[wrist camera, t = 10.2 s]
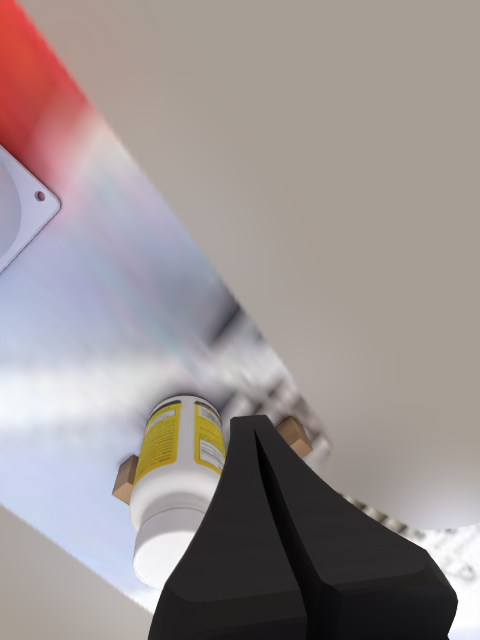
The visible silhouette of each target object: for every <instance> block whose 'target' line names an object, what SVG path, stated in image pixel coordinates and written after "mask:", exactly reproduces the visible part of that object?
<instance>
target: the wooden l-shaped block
mask: <svg viewBox="0 0 480 640" xmlns="http://www.w3.org/2000/svg"><path fill="white" fill-rule="evenodd" d="M276 429H277V430H278V432H279V433H280V434H281V435H282V437H283V438H284V439H285V441H286V442H287V443H288V444H289V445H290V446H291V448H292V449H293V450H294V451H295V452H296V453H297V455H298V456H299V457H300V458H301V459H302V458H303V457H305V456H306V455H307V454H309V453H310V452H311V451H313V449H312V447H311V444H310V442H309V440H308V438H307V435H306V433H305V431H304V429H303V427H302V426H301V425H300V424H299V423H298V422H297V421H296V420H295V419H294V418H293V417H292V416H290V417H288V418H287V419H286V420H285V421H283V422H282V423H281V424H280V425H278V426H277V427H276ZM138 460H139V458H138V457H136V456H135V455H133V456H132V457H130V458H129V459H128V460H127V461H126V462H125V463H123V464H122V465H121V466H120V468H119V471H118V475H117V478H116V482H115V485H114V488H113V492H112V495H113V496H115V497H116V498H118V499H120V500H121V501H123V502H124V503H126V504H128V505H130V498H131V493H132V488H133V483H134V478H135V474H136V469H137V464H138Z"/></svg>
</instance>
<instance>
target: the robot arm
mask: <svg viewBox="0 0 480 640" xmlns="http://www.w3.org/2000/svg"><path fill="white" fill-rule="evenodd" d="M40 191H41V192H43V193H44V195H45V199H44V201H41V200H39V198H38V192H40ZM59 209H60V202H59V200H58V198H57V197H56V196H55V195H54V194H53V193H52V192H51V191H50V190H49V189H47V188H46V187H45V186H44V185H43V184H42V183H41V182H40V181H39V180H38V179H37V178H36V177H35V176H34V175H33V174H31V173H30V172H29V171H28V170H27V169H26V168H25V167H24V166H23V165H22V164H21V163H20V162H19V161H18V160H17V159H15V158H14V157H13V156H12V155H11V154H10V153H9V152H8V151H7V150H6V149H5V148H4V147H3V146H2V145H1V144H0V273H1V272H2V271H3V270H4V269H5V268H6V267H7V266H8V265H9V263H10V262H11V261H12V260H13V259H14V258H15V257H16V256H17V255H18V254H19V253H20V252H21V251H22V249H23V248H24V247H25V246H26V245H27V244H28V243H29V242H30V241H31V240H32V239H33V238H34V237H35V235H36V234H37V233H38V232H39V231H40V230H41V229H42V228H43V227H44V226H45V225H46V224H47V223H48V222H49V220H50V219H51V218H52V217H53V216H54V215H55V214H56V213H57V212H58V211H59ZM457 605H458V599H457V595H456V592H455V591H454V589H453V588H452V586H451V585H450V583H449V581H448V580H447V578H446V577H445V575H444V574H443V572H442V571H441V569H440V568H439V567H438V565H437V564H436V563H435V561H434V560H433V559H432V558H431V556H430V555H429V553H428V552H427V551H426V550H425V549H423V548H421V547H420V546H418V545H416V544H414V543H413V542H411V541H409V540H407V539H405V538H404V537H402V536H400V535H398V534H396V533H395V532H393V531H391V530H389V529H388V528H386V527H385V526H383V525H382V524H380V523H378V522H377V521H375V520H374V519H372V518H371V517H369V516H368V515H366V514H365V513H363V512H362V511H361V510H359V509H358V508H357V507H355V506H354V505H353V504H351V503H350V502H348V501H347V500H346V499H344V498H343V497H342V496H341V495H339V494H338V493H337V492H336V491H334V490H333V489H332V488H331V487H330V486H329V485H328V484H326V483H325V482H324V481H323V480H322V479H321V478H320V477H319V476H318V475H317V474H316V473H315V472H314V471H313V470H312V469H311V468H310V467H309V466H308V465H307V464H306V463H305V462H304V461H303V460H302V459H301V458H300V457H299V456H298V455H297V453H296V452H295V451H294V450H293V449H292V448H291V446H290V445H289V444H288V443H287V442H286V441H285V439H284V438H283V437H282V435H281V434H280V433H279V432H278V430H277V429H276V428H275V426H274V425H273V424H272V422H271V421H270V419H269V418H268V417H267V416H266V415H254V416H241V417H233V418H232V419H231V420H230V441H229V447H228V451H227V456H226V460H225V463H224V466H223V470H222V473H221V476H220V479H219V482H218V485H217V488H216V490H215V493H214V495H213V498H212V500H211V502H210V505H209V507H208V509H207V511H206V513H205V516H204V518H203V520H202V522H201V524H200V526H199V528H198V530H197V531H196V533H195V535H194V537H193V539H192V540H191V542H190V544H189V546H188V548H187V549H186V551H185V553H184V554H183V556H182V558H181V559H180V561H179V562H178V564H177V565H176V567H175V568H174V570H173V571H172V573H171V574H170V576H169V578H168V579H167V581H166V582H165V584H164V587H163V590H162V593H161V595H160V598H159V601H158V604H157V607H156V610H155V613H154V616H153V619H152V623H151V627H150V631H149V635H148V640H449V638H448V633H449V630H450V628H451V625H452V623H453V620H454V617H455V615H456V610H457Z"/></svg>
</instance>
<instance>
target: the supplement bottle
mask: <svg viewBox="0 0 480 640" xmlns="http://www.w3.org/2000/svg"><path fill="white" fill-rule="evenodd" d="M225 460H226V459H225V449H224V440H223V431H222V424H221V419H220V416H219V414H218V412H217V411H216V409H215V408H214V407H213V406H212V405H211V404H210V403H209V402H207V401H205V400H203V399H201V398H198V397H194V396H177V397H173V398H170V399H167V400H165V401H163V402H162V403H160V404H159V405H158V406H157V407H156V408H155V409H154V410H153V411H152V413H151V414H150V416H149V418H148V421H147V424H146V428H145V433H144V437H143V442H142V446H141V451H140V455H139V460H138V464H137V469H136V474H135V478H134V483H133V488H132V493H131V498H130V505H129V512H130V519H131V522H132V524H133V526H134V528H135V530H136V531H137V532H138V533H137V536H136V542H135V550H134V556H133V568H134V571H135V573H136V575H137V577H138V578H139V579H140V580H141V581H142V582H144V583H145V584H147V585H149V586H152V587H154V588H158V589H163V587H164V584H165V582H166V581H167V579H168V578H169V576H170V574H171V573H172V571H173V570H174V568H175V567H176V565H177V564H178V562H179V561H180V559H181V558H182V556H183V554H184V553H185V551H186V549H187V548H188V546H189V544H190V542H191V540H192V539H193V537H194V535H195V533H196V531H197V530H198V528H199V526H200V524H201V522H202V520H203V518H204V516H205V513H206V511H207V509H208V507H209V505H210V502H211V500H212V498H213V495H214V493H215V490H216V488H217V485H218V482H219V479H220V476H221V473H222V470H223V466H224V463H225Z"/></svg>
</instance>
